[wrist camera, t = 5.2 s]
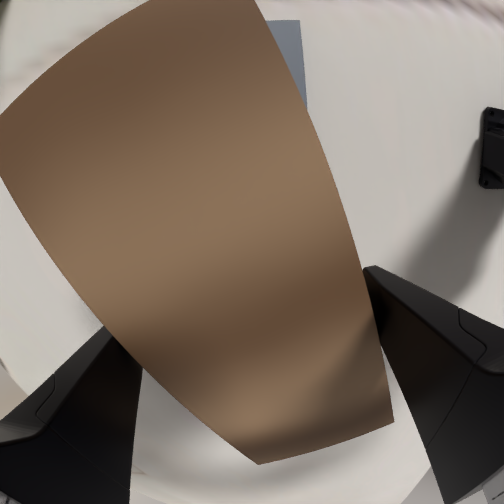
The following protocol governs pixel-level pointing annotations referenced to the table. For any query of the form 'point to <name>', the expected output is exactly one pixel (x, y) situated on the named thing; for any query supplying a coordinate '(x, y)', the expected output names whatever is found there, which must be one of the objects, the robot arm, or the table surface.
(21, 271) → the table surface
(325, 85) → the table surface
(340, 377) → the shelf board
